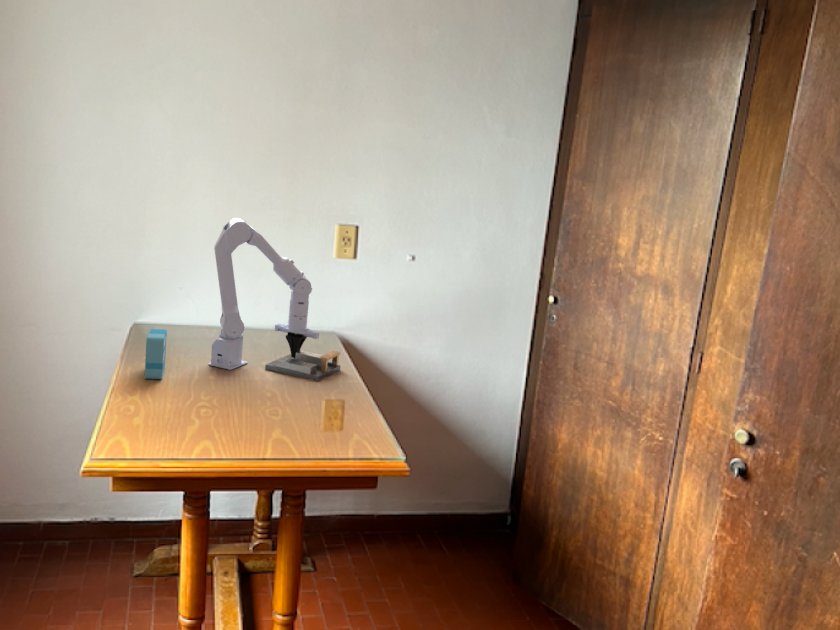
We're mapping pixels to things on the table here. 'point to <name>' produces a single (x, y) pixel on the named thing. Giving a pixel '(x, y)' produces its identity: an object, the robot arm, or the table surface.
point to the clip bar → (308, 357)
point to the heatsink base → (306, 367)
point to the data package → (155, 353)
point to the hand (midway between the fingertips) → (294, 356)
